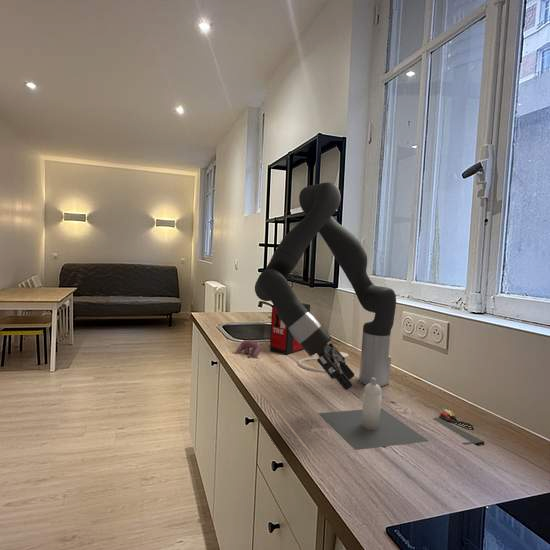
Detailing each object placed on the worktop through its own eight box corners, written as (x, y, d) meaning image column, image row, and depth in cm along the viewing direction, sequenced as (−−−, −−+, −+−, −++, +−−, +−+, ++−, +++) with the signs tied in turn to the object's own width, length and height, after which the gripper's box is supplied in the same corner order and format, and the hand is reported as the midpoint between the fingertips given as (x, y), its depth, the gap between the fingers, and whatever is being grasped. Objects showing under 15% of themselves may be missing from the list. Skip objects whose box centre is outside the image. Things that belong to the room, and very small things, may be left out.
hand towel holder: (291, 350, 161) (336, 348, 169) (290, 361, 162) (335, 358, 169) (310, 362, 146) (359, 359, 153) (309, 374, 146) (358, 370, 153)
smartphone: (438, 417, 112) (485, 441, 98) (438, 420, 112) (485, 445, 98) (418, 420, 109) (464, 445, 96) (418, 423, 109) (464, 449, 96)
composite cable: (475, 430, 107) (476, 421, 107) (462, 432, 105) (463, 423, 105) (445, 415, 116) (446, 406, 116) (433, 417, 114) (434, 408, 114)
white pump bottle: (372, 421, 106) (376, 375, 105) (382, 429, 102) (386, 380, 101) (358, 423, 105) (361, 376, 104) (367, 430, 100) (371, 381, 100)
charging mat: (381, 410, 116) (381, 407, 116) (428, 443, 97) (429, 440, 97) (317, 415, 109) (317, 413, 109) (355, 452, 91) (355, 449, 90)
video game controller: (259, 360, 164) (264, 343, 167) (254, 357, 161) (259, 340, 163) (240, 355, 170) (245, 339, 172) (234, 352, 166) (239, 336, 168)
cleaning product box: (286, 355, 169) (289, 307, 167) (269, 351, 174) (272, 304, 173) (307, 348, 182) (310, 304, 181) (290, 344, 187) (293, 301, 186)
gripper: (316, 329, 98) (360, 382, 96) (324, 320, 112) (363, 366, 110) (293, 348, 100) (336, 400, 98) (303, 336, 114) (342, 382, 112)
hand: (350, 382), depth 104 cm, fingers open, 8 cm apart
